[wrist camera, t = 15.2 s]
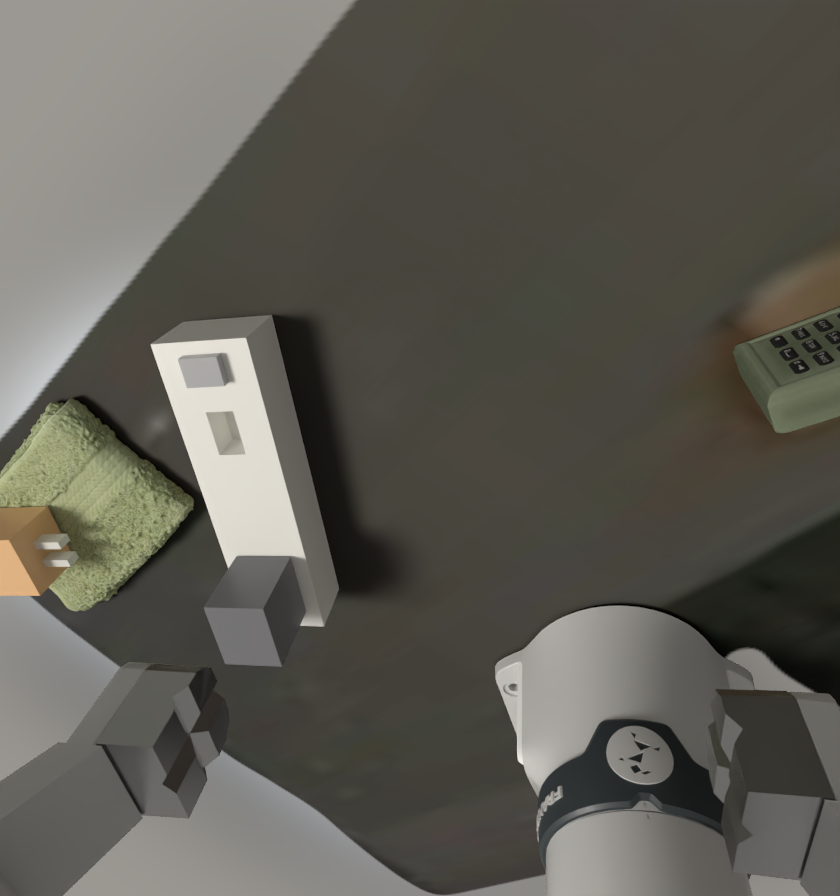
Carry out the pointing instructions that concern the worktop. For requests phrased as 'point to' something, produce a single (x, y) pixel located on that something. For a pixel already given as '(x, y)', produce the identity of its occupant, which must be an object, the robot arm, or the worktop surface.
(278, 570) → the block
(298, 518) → the power strip
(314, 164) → the worktop surface
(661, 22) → the worktop surface
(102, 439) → the washcloth
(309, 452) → the worktop surface
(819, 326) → the handheld radio
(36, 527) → the orange charger
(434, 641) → the worktop surface
